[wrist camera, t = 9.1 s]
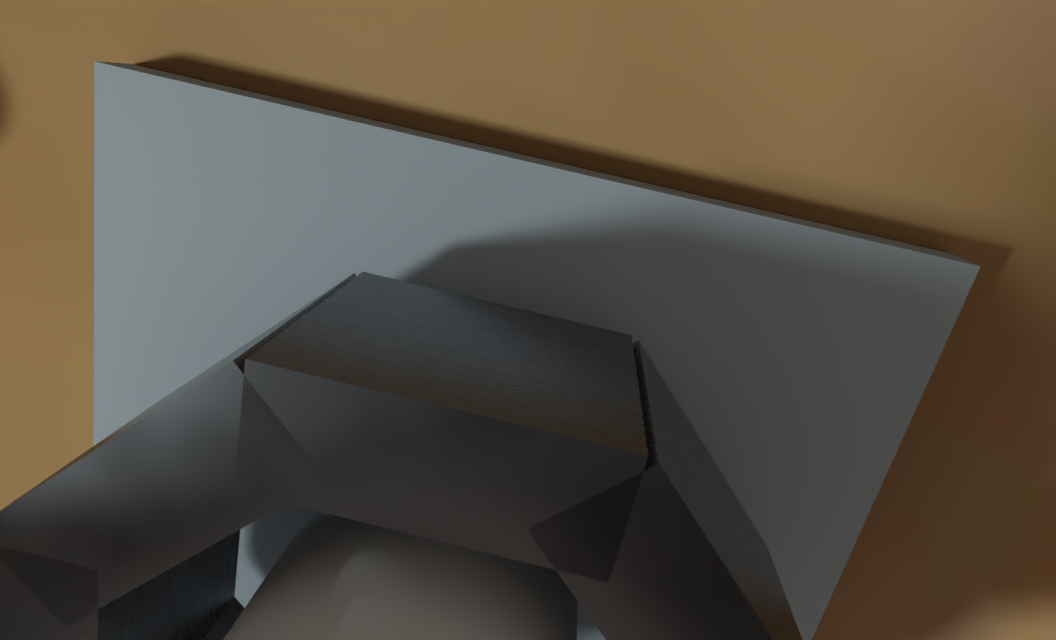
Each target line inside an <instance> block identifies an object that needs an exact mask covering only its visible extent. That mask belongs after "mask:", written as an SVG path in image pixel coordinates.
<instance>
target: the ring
mask: <svg viewBox="0 0 1056 640" xmlns="http://www.w3.org/2000/svg"><path fill="white" fill-rule="evenodd" d="M284 504H290V505H294V506H298V507H302V508H306V509H310V510H314V511H318V512H322V513H326V514H331V515H335V516H339V517H343V518H347V519H351V520H355V521H359V522H363V523H367V524H371V525H375V526H379V527H383V528H387V529H391V530H395V531H399V532H404V533H408V534H412V535H416V536H420V537H424V538H428V539H432V540H436V541H440V542H444V543H448V544H452V545H456V546H460V547H464V548H468V549H472V550H477V551H481V552H485V553H489V554H493V555H497V556H501V557H505V558H509V559H513V560H517V561H521V562H525V563H529V564H533V565H537V566H541V567H545V568H550V569H554V570H556V571H557V573H558V574H559V575H560V577H561V578H562V580H563V581H564V582H565V584H566V585H567V587H568V588H569V589H570V591H571V592H572V593H573V595H574V596H575V598H576V599H577V600H578V602H579V603H580V605H581V606H582V607H583V609H584V610H585V612H586V613H587V614H588V616H589V617H590V618H591V620H592V621H593V623H594V624H595V625H596V627H597V628H598V630H599V631H600V632H601V634H602V635H603V637H604V638H605V639H606V640H802V637H801V635H800V632H799V629H798V627H797V624H796V621H795V619H794V616H793V613H792V611H791V608H790V605H789V603H788V600H787V597H786V595H785V592H784V589H783V587H782V584H781V582H780V579H779V576H778V574H777V571H776V568H775V566H774V563H773V560H772V558H771V555H770V552H769V550H768V547H767V545H766V544H765V542H764V540H763V539H762V537H761V536H760V534H759V532H758V531H757V529H756V528H755V526H754V524H753V523H752V521H751V520H750V518H749V516H748V515H747V513H746V512H745V510H744V508H743V507H742V505H741V504H740V502H739V500H738V499H737V497H736V496H735V494H734V492H733V491H732V489H731V488H730V486H729V484H728V483H727V481H726V479H725V478H724V476H723V475H722V473H721V471H720V470H719V468H718V467H717V465H716V463H715V462H714V460H713V459H712V457H711V455H710V454H709V452H708V451H707V449H706V447H705V446H704V444H703V443H702V441H701V439H700V438H699V436H698V435H697V433H696V431H695V430H694V428H693V427H692V425H691V423H690V422H689V420H688V419H687V417H686V415H685V414H684V412H683V411H682V409H681V407H680V406H679V404H678V402H677V401H676V399H675V398H674V396H673V394H672V393H671V391H670V390H669V388H668V386H667V385H666V383H665V382H664V380H663V378H662V377H661V375H660V374H659V372H658V370H657V369H656V367H655V366H654V364H653V362H652V361H651V359H650V358H649V356H648V354H647V353H646V351H645V350H644V348H643V346H642V345H641V343H640V342H639V340H638V341H637V342H635V343H632V336H631V335H629V334H624V333H620V332H616V331H612V330H607V329H603V328H599V327H595V326H591V325H586V324H582V323H578V322H574V321H569V320H565V319H561V318H557V317H553V316H548V315H544V314H540V313H536V312H532V311H527V310H523V309H519V308H515V307H510V306H506V305H502V304H498V303H494V302H489V301H485V300H481V299H477V298H472V297H468V296H464V295H460V294H456V293H451V292H447V291H443V290H439V289H434V288H430V287H426V286H422V285H418V284H413V283H409V282H405V281H401V280H396V279H392V278H388V277H384V276H380V275H375V274H371V273H367V272H362V273H360V274H359V275H358V276H356V274H355V273H354V274H352V275H351V276H349V277H347V278H346V279H344V280H343V281H341V282H340V283H338V284H337V285H335V286H334V287H332V288H331V289H329V290H328V291H326V292H325V293H323V294H321V295H320V296H318V297H317V298H315V299H314V300H312V301H311V302H309V303H308V304H306V305H305V306H303V307H302V308H300V309H299V310H297V311H295V312H294V313H292V314H291V315H289V316H288V317H286V318H285V319H283V320H282V321H280V322H279V323H277V324H276V325H274V326H273V327H271V328H270V329H268V330H266V331H265V332H263V333H262V334H260V335H259V336H257V337H256V338H254V339H253V340H251V341H250V342H248V343H247V344H245V345H244V346H242V347H240V348H239V349H237V350H236V351H234V352H233V353H231V354H230V355H228V356H227V357H225V358H224V359H222V360H221V361H219V362H218V363H216V364H214V365H213V366H211V367H210V368H208V369H207V370H205V371H204V372H202V373H201V374H199V375H198V376H196V377H195V378H193V379H192V380H190V381H188V382H187V383H185V384H184V385H182V386H181V387H179V388H178V389H176V390H175V391H173V392H172V393H170V394H169V395H167V396H166V397H164V398H163V399H161V400H160V401H158V402H157V403H155V404H154V405H152V406H151V407H149V408H148V409H147V410H145V411H144V412H142V413H141V414H139V415H138V416H136V417H135V418H134V419H132V420H131V421H129V422H128V423H126V424H125V425H123V426H122V427H121V428H119V429H118V430H116V431H115V432H113V433H112V434H110V435H109V436H108V437H106V438H105V439H103V440H102V441H100V442H99V443H97V444H96V445H95V446H93V447H92V448H90V449H89V450H87V451H86V452H84V453H83V454H82V455H80V456H79V457H77V458H76V459H74V460H73V461H71V462H70V463H68V464H67V465H66V466H64V467H63V468H61V469H60V470H58V471H57V472H55V473H54V474H53V475H51V476H50V477H48V478H47V479H45V480H44V481H42V482H41V483H40V484H38V485H37V486H35V487H34V488H32V489H31V490H29V491H28V492H27V493H25V494H24V495H22V496H21V497H19V498H18V499H16V500H15V501H14V502H12V503H11V504H9V505H8V506H6V507H5V508H3V509H2V510H1V511H0V640H223V639H224V637H225V636H226V634H227V633H228V631H229V630H230V629H231V627H232V626H233V624H234V623H235V621H236V620H237V618H238V617H239V615H240V614H241V613H242V611H243V610H244V607H243V606H242V605H241V603H240V602H239V601H238V600H237V599H236V598H235V597H234V596H235V584H236V573H237V562H238V550H239V539H240V529H242V528H243V527H245V526H247V525H249V524H251V523H252V522H254V521H256V520H258V519H259V518H261V517H263V516H265V515H266V514H268V513H270V512H272V511H274V510H275V509H277V508H279V507H281V506H282V505H284Z"/></svg>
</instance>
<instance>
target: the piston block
mask: <svg viewBox="0 0 1056 640" xmlns="http://www.w3.org/2000/svg"><path fill="white" fill-rule="evenodd" d="M980 267H981V266H979V265H976V264H974V263H972V262H969V261H967V260H965V259H963V258H960V257H958V256H956V255H954V254H951V253H947V252H942V251H938V250H934V249H929V248H925V247H921V246H916V245H912V244H908V243H903V242H899V241H895V240H890V239H886V238H882V237H877V236H873V235H869V234H864V233H860V232H856V231H851V230H847V229H843V228H838V227H834V226H830V225H825V224H821V223H817V222H812V221H808V220H804V219H799V218H795V217H791V216H786V215H782V214H778V213H773V212H769V211H765V210H761V209H756V208H752V207H748V206H743V205H739V204H735V203H730V202H726V201H722V200H717V199H713V198H709V197H704V196H700V195H696V194H691V193H687V192H683V191H678V190H674V189H670V188H665V187H661V186H657V185H652V184H648V183H644V182H639V181H635V180H631V179H626V178H622V177H618V176H613V175H609V174H605V173H600V172H596V171H592V170H588V169H583V168H579V167H575V166H570V165H566V164H562V163H557V162H553V161H549V160H544V159H540V158H536V157H531V156H527V155H523V154H518V153H514V152H510V151H505V150H501V149H497V148H492V147H488V146H484V145H479V144H475V143H471V142H466V141H462V140H458V139H453V138H449V137H445V136H440V135H436V134H432V133H427V132H423V131H419V130H414V129H410V128H406V127H402V126H397V125H393V124H389V123H384V122H380V121H376V120H371V119H367V118H363V117H358V116H354V115H350V114H345V113H341V112H337V111H332V110H328V109H324V108H319V107H315V106H311V105H306V104H302V103H298V102H293V101H289V100H285V99H280V98H276V97H272V96H267V95H263V94H259V93H254V92H250V91H246V90H241V89H237V88H233V87H228V86H224V85H220V84H216V83H211V82H207V81H203V80H198V79H194V78H190V77H185V76H181V75H177V74H172V73H168V72H164V71H159V70H155V69H151V68H146V67H142V66H138V65H133V64H124V63H110V62H96V61H95V100H94V446H95V445H96V444H97V443H99V442H100V441H102V440H103V439H105V438H106V437H108V436H109V435H110V434H112V433H113V432H115V431H116V430H118V429H119V428H121V427H122V426H123V425H125V424H126V423H128V422H129V421H131V420H132V419H134V418H135V417H136V416H138V415H139V414H141V413H142V412H144V411H145V410H147V409H148V408H149V407H151V406H152V405H154V404H155V403H157V402H158V401H160V400H161V399H163V398H164V397H166V396H167V395H169V394H170V393H172V392H173V391H175V390H176V389H178V388H179V387H181V386H182V385H184V384H185V383H187V382H188V381H190V380H192V379H193V378H195V377H196V376H198V375H199V374H201V373H202V372H204V371H205V370H207V369H208V368H210V367H211V366H213V365H214V364H216V363H218V362H219V361H221V360H222V359H224V358H225V357H227V356H228V355H230V354H231V353H233V352H234V351H236V350H237V349H239V348H240V347H242V346H244V345H245V344H247V343H248V342H250V341H251V340H253V339H254V338H256V337H257V336H259V335H260V334H262V333H263V332H265V331H266V330H268V329H270V328H271V327H273V326H274V325H276V324H277V323H279V322H280V321H282V320H283V319H285V318H286V317H288V316H289V315H291V314H292V313H294V312H295V311H297V310H299V309H300V308H302V307H303V306H305V305H306V304H308V303H309V302H311V301H312V300H314V299H315V298H317V297H318V296H320V295H321V294H323V293H325V292H326V291H328V290H329V289H331V288H332V287H334V286H335V285H337V284H338V283H340V282H341V281H343V280H344V279H346V278H347V277H349V276H351V275H352V274H354V273H355V274H356V276H358V275H359V274H360V273H362V272H367V273H371V274H375V275H380V276H384V277H388V278H392V279H396V280H401V281H405V282H409V283H413V284H418V285H422V286H426V287H430V288H434V289H439V290H443V291H447V292H451V293H456V294H460V295H464V296H468V297H472V298H477V299H481V300H485V301H489V302H494V303H498V304H502V305H506V306H510V307H515V308H519V309H523V310H527V311H532V312H536V313H540V314H544V315H548V316H553V317H557V318H561V319H565V320H569V321H574V322H578V323H582V324H586V325H591V326H595V327H599V328H603V329H607V330H612V331H616V332H620V333H624V334H629V335H631V336H632V343H635V342H637V341H638V340H639V342H640V343H641V345H642V346H643V348H644V350H645V351H646V353H647V354H648V356H649V358H650V359H651V361H652V362H653V364H654V366H655V367H656V369H657V370H658V372H659V374H660V375H661V377H662V378H663V380H664V382H665V383H666V385H667V386H668V388H669V390H670V391H671V393H672V394H673V396H674V398H675V399H676V401H677V402H678V404H679V406H680V407H681V409H682V411H683V412H684V414H685V415H686V417H687V419H688V420H689V422H690V423H691V425H692V427H693V428H694V430H695V431H696V433H697V435H698V436H699V438H700V439H701V441H702V443H703V444H704V446H705V447H706V449H707V451H708V452H709V454H710V455H711V457H712V459H713V460H714V462H715V463H716V465H717V467H718V468H719V470H720V471H721V473H722V475H723V476H724V478H725V479H726V481H727V483H728V484H729V486H730V488H731V489H732V491H733V492H734V494H735V496H736V497H737V499H738V500H739V502H740V504H741V505H742V507H743V508H744V510H745V512H746V513H747V515H748V516H749V518H750V520H751V521H752V523H753V524H754V526H755V528H756V529H757V531H758V532H759V534H760V536H761V537H762V539H763V540H764V542H765V544H766V545H767V547H768V550H769V552H770V555H771V558H772V560H773V563H774V566H775V568H776V571H777V574H778V576H779V579H780V582H781V584H782V587H783V589H784V592H785V595H786V597H787V600H788V603H789V605H790V608H791V611H792V613H793V616H794V619H795V621H796V624H797V627H798V629H799V632H800V635H801V637H802V640H812V639H813V636H814V634H815V632H816V630H817V627H818V625H819V623H820V621H821V619H822V616H823V614H824V612H825V610H826V608H827V605H828V603H829V601H830V599H831V596H832V594H833V592H834V590H835V588H836V585H837V583H838V581H839V579H840V577H841V574H842V572H843V570H844V568H845V566H846V563H847V561H848V559H849V557H850V554H851V552H852V550H853V548H854V546H855V543H856V541H857V539H858V537H859V535H860V532H861V530H862V528H863V526H864V523H865V521H866V519H867V517H868V515H869V512H870V510H871V508H872V506H873V504H874V501H875V499H876V497H877V495H878V492H879V490H880V488H881V486H882V484H883V481H884V479H885V477H886V475H887V473H888V470H889V468H890V466H891V464H892V461H893V459H894V457H895V455H896V453H897V450H898V448H899V446H900V444H901V442H902V439H903V437H904V435H905V433H906V431H907V428H908V426H909V424H910V422H911V419H912V417H913V415H914V413H915V411H916V408H917V406H918V404H919V402H920V400H921V397H922V395H923V393H924V391H925V388H926V386H927V384H928V382H929V380H930V377H931V375H932V373H933V371H934V369H935V366H936V364H937V362H938V360H939V357H940V355H941V353H942V351H943V349H944V346H945V344H946V342H947V340H948V338H949V335H950V333H951V331H952V329H953V327H954V324H955V322H956V320H957V318H958V315H959V313H960V311H961V309H962V307H963V304H964V302H965V300H966V298H967V296H968V293H969V291H970V289H971V287H972V284H973V282H974V280H975V278H976V276H977V273H978V271H979V269H980ZM234 597H235V598H236V599H237V600H238V601H239V602H240V603H241V605H242V606H243V607H244V610H243V611H242V613H241V614H240V615H239V617H238V618H237V620H236V621H235V623H234V624H233V626H232V627H231V629H230V630H229V631H228V633H227V634H226V636H225V637H224V639H223V640H606V639H605V638H604V637H603V635H602V634H601V632H600V631H599V630H598V628H597V627H596V625H595V624H594V623H593V621H592V620H591V618H590V617H589V616H588V614H587V613H586V612H585V610H584V609H583V607H582V606H581V605H580V603H579V602H578V600H577V599H576V598H575V596H574V595H573V593H572V592H571V591H570V589H569V588H568V587H567V585H566V584H565V582H564V581H563V580H562V578H561V577H560V575H559V574H558V573H557V571H556V570H554V569H550V568H545V567H541V566H537V565H533V564H529V563H525V562H521V561H517V560H513V559H509V558H505V557H501V556H497V555H493V554H489V553H485V552H481V551H477V550H472V549H468V548H464V547H460V546H456V545H452V544H448V543H444V542H440V541H436V540H432V539H428V538H424V537H420V536H416V535H412V534H408V533H404V532H399V531H395V530H391V529H387V528H383V527H379V526H375V525H371V524H367V523H363V522H359V521H355V520H351V519H347V518H343V517H339V516H335V515H331V514H326V513H322V512H318V511H314V510H310V509H306V508H302V507H298V506H294V505H290V504H284V505H282V506H281V507H279V508H277V509H275V510H274V511H272V512H270V513H268V514H266V515H265V516H263V517H261V518H259V519H258V520H256V521H254V522H252V523H251V524H249V525H247V526H245V527H243V528H242V529H240V539H239V550H238V562H237V573H236V584H235V596H234Z"/></svg>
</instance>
